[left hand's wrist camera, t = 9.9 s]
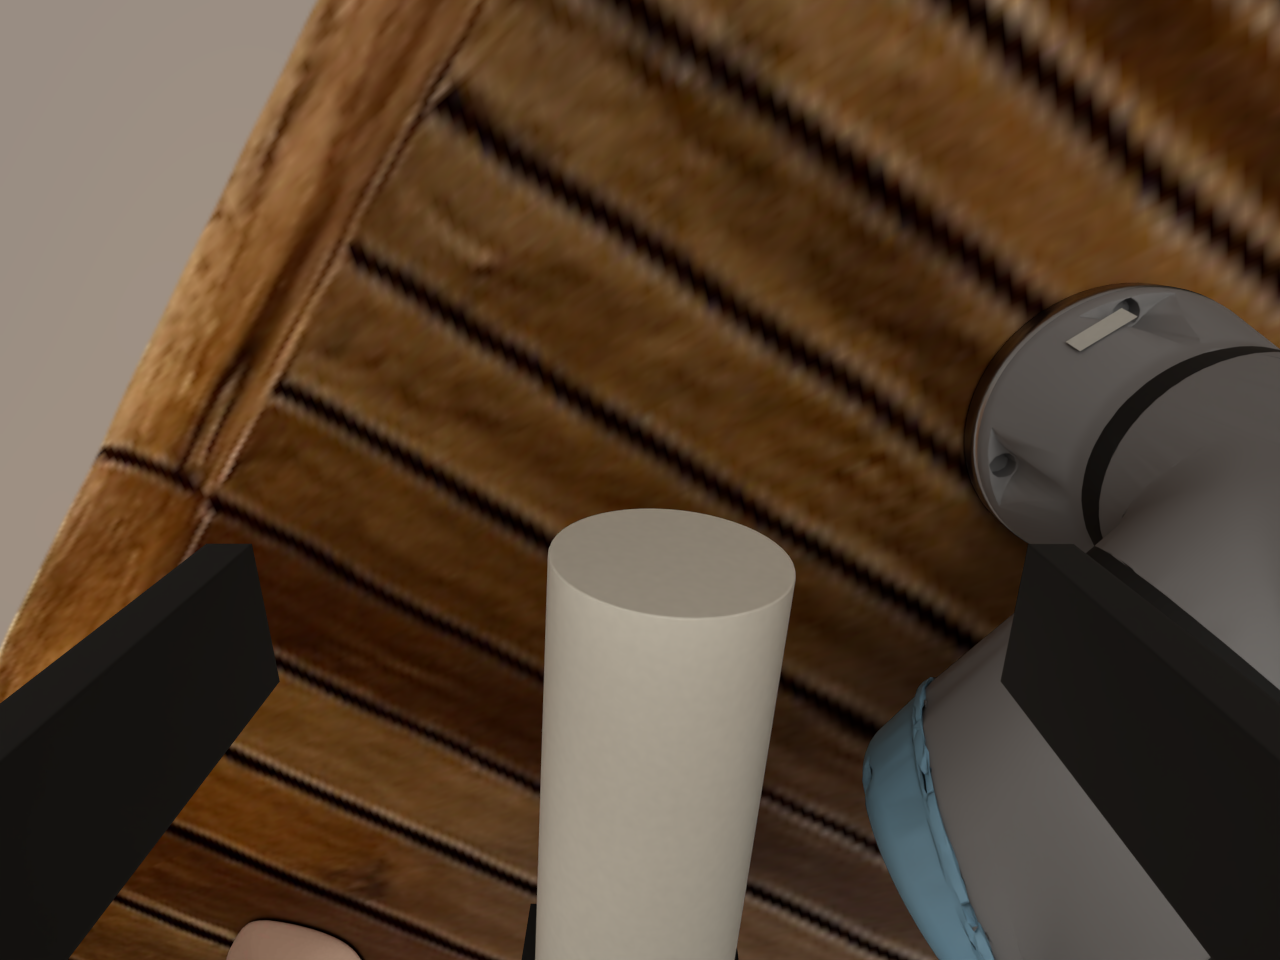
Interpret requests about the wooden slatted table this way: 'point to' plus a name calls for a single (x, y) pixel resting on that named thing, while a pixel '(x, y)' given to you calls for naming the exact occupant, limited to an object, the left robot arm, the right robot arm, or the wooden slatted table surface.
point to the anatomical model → (287, 943)
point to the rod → (655, 731)
